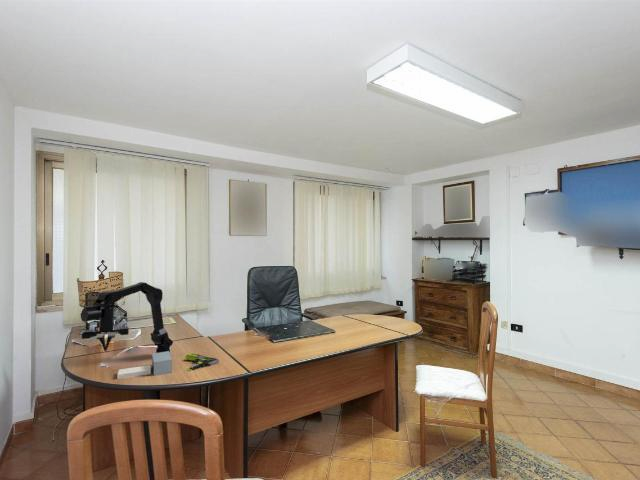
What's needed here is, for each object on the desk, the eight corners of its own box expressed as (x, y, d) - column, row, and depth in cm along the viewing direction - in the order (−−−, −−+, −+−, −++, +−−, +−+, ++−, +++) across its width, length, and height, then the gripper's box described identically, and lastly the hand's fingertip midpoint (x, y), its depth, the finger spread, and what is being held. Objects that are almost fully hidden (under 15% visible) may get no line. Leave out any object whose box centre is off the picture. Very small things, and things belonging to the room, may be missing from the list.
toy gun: (170, 362, 170) (189, 351, 184) (170, 370, 170) (189, 358, 185) (203, 369, 165) (220, 356, 179) (203, 377, 165) (220, 364, 179)
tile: (151, 370, 169) (151, 365, 169) (150, 375, 163) (150, 369, 163) (119, 374, 163) (119, 369, 163) (117, 380, 157) (117, 374, 157)
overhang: (168, 363, 177) (168, 351, 177) (171, 372, 165) (171, 359, 165) (152, 366, 173) (152, 353, 173) (153, 375, 161) (154, 362, 161)
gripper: (129, 313, 171) (128, 343, 170) (85, 316, 162) (84, 348, 161) (129, 317, 161) (127, 349, 161) (82, 320, 152) (80, 355, 151)
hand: (105, 350), depth 159 cm, fingers closed
